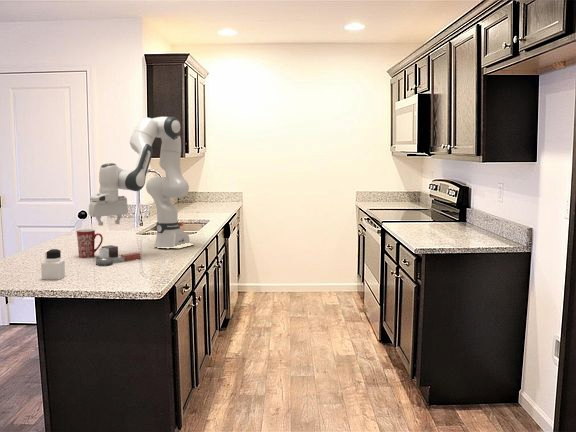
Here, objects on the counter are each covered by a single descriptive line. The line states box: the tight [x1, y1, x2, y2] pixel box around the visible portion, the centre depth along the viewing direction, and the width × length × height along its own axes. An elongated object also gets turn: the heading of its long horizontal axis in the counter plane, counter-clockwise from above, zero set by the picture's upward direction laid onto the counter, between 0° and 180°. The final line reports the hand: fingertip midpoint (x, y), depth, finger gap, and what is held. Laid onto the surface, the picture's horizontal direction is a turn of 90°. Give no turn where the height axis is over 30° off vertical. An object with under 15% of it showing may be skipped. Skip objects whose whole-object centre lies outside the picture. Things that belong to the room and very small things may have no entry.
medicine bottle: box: [40, 248, 66, 281], centre depth 234 cm, size 7×7×12 cm
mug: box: [75, 228, 104, 259], centre depth 280 cm, size 13×9×14 cm
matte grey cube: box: [101, 244, 119, 258], centre depth 277 cm, size 6×6×6 cm
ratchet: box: [95, 247, 141, 267], centre depth 269 cm, size 23×8×8 cm, turn 142°
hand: (109, 224), depth 275 cm, fingers open, 8 cm apart
